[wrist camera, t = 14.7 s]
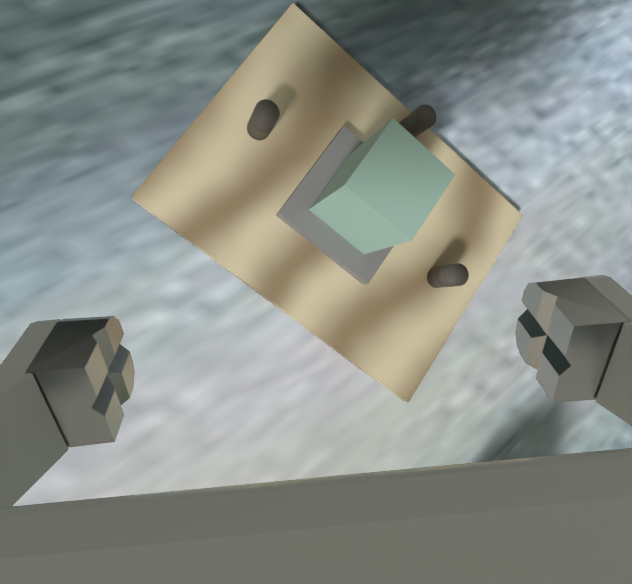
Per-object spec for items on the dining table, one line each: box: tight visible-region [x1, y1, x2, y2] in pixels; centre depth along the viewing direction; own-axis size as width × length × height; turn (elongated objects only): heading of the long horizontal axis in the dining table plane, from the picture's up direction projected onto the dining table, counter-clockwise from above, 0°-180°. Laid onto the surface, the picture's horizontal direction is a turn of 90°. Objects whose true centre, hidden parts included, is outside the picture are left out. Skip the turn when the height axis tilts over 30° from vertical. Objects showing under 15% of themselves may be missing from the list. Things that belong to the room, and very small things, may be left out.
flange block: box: [276, 118, 455, 285], centre depth 32 cm, size 8×8×8 cm
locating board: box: [132, 3, 523, 402], centre depth 35 cm, size 24×18×4 cm
